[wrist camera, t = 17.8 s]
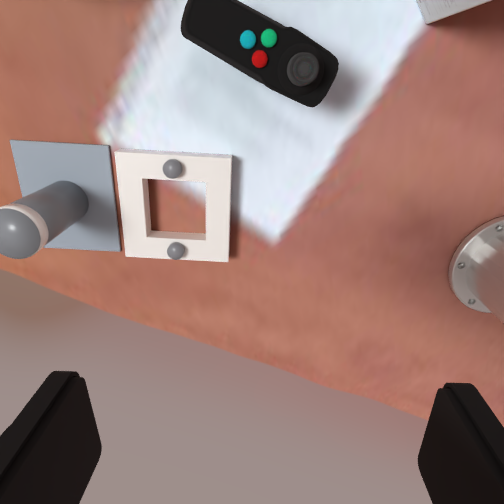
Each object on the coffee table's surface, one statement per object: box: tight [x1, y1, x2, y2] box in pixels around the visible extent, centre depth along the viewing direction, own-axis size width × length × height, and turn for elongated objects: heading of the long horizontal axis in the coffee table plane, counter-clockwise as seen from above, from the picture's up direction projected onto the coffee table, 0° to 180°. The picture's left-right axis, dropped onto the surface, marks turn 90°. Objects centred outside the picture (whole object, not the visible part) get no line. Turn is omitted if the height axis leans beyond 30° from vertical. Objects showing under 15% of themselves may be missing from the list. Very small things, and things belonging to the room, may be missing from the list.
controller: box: [181, 0, 339, 107], centre depth 29 cm, size 4×12×10 cm, turn 64°
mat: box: [10, 140, 121, 252], centre depth 39 cm, size 10×12×1 cm
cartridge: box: [0, 181, 89, 259], centre depth 34 cm, size 5×5×10 cm
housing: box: [115, 149, 232, 262], centre depth 38 cm, size 12×12×3 cm
